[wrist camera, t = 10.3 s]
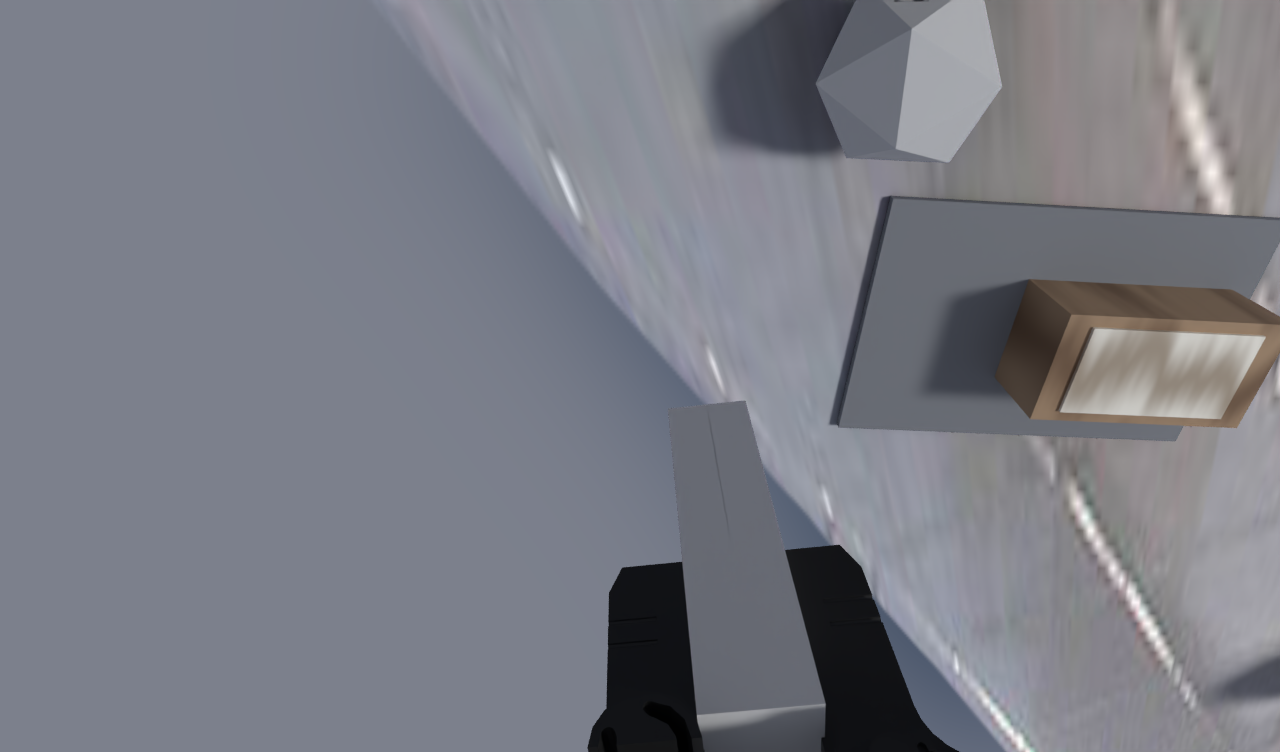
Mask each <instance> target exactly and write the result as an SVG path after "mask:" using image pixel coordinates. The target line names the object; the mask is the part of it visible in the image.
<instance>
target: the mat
mask: <svg viewBox="0 0 1280 752" xmlns="http://www.w3.org/2000/svg"><path fill="white" fill-rule="evenodd" d="M1279 243H1280V218H1272V217H1254V216H1236V215H1219V214H1201V213H1183V212H1166V211H1148V210H1130V209H1113V208H1095V207H1077V206H1059V205H1042V204H1024V203H1006V202H989V201H971V200H953V199H936V198H918V197H900V196H891V197H890V201H889V205H888V210H887V214H886V218H885V222H884V227H883V231H882V235H881V239H880V243H879V248H878V252H877V256H876V260H875V265H874V269H873V273H872V277H871V281H870V286H869V290H868V294H867V298H866V303H865V307H864V311H863V315H862V319H861V324H860V328H859V332H858V336H857V341H856V345H855V349H854V353H853V357H852V362H851V366H850V370H849V374H848V379H847V383H846V387H845V391H844V395H843V400H842V404H841V408H840V412H839V417H838V421H837V425H838V427H840V428H864V429H889V430H913V431H937V432H962V433H986V434H1010V435H1035V436H1059V437H1083V438H1107V439H1132V440H1156V441H1176V439H1177V438H1178V436H1179V434H1180V432H1181V430H1182V428H1183V426H1179V425H1156V424H1132V423H1108V422H1084V421H1061V420H1037V419H1030V418H1029V417H1028V416H1027V415H1026V414H1025V413H1024V411H1023V410H1022V409H1021V408H1020V407H1019V405H1018V404H1017V403H1016V402H1015V401H1014V400H1013V398H1012V397H1011V396H1010V395H1009V394H1008V393H1007V391H1006V390H1005V389H1004V388H1003V387H1002V385H1001V384H1000V383H999V382H998V381H997V380H996V378H995V374H996V371H997V368H998V366H999V363H1000V360H1001V357H1002V354H1003V351H1004V349H1005V346H1006V343H1007V340H1008V337H1009V334H1010V332H1011V329H1012V326H1013V323H1014V320H1015V317H1016V315H1017V312H1018V309H1019V306H1020V303H1021V300H1022V298H1023V295H1024V292H1025V289H1026V286H1027V283H1028V281H1029V279H1037V280H1056V281H1076V282H1095V283H1115V284H1134V285H1153V286H1173V287H1192V288H1212V289H1231V290H1234V291H1236V292H1237V293H1239V294H1241V295H1243V296H1244V297H1246V298H1248V299H1250V298H1251V296H1252V294H1253V292H1254V290H1255V288H1256V286H1257V285H1258V283H1259V281H1260V279H1261V277H1262V275H1263V273H1264V271H1265V269H1266V267H1267V265H1268V264H1269V262H1270V260H1271V258H1272V256H1273V254H1274V252H1275V250H1276V248H1277V246H1278V244H1279Z"/></svg>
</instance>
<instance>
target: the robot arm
mask: <svg viewBox="0 0 1280 752" xmlns="http://www.w3.org/2000/svg"><path fill="white" fill-rule="evenodd" d="M668 415H669V426H670V437H671V446H672V457H673V468H674V479H675V490H676V499H677V511H678V521H679V531H680V542H681V553H682V562H676V563H666V564H655V565H646V566H635V567H624V568H622V569H621V571H620V573H619V575H618V577H617V579H616V581H615V583H614V585H613V586H612V589H611V590H610V592H609V627H608V664H607V668H608V669H607V709H606V710H605V711H604V712H603V713H602V715H601V716H600V718H599V719H598V720H597V722H596V723H595V725H594V726H593V728H592V732H591V736H590V740H589V744H588V752H959V751H957V750H955V749H953V748H952V747H950V746H948V745H946V744H945V743H944V742H943V741H942V740H940V739H939V738H938V737H937V736H935V735H934V734H933V733H932V732H931V731H930V730H929V728H927V726H926V725H925V723H924V722H923V721H922V720H921V718H920V716H919V714H918V712H917V710H916V708H915V707H914V704H913V702H912V699H911V696H910V694H909V691H908V688H907V686H906V683H905V680H904V678H903V675H902V673H901V670H900V667H899V665H898V662H897V659H896V657H895V654H894V651H893V649H892V646H891V644H890V641H889V638H888V636H887V633H886V630H885V628H884V625H883V623H882V622H881V619H880V615H879V612H878V609H877V607H876V604H875V601H874V600H873V599H872V593H871V591H870V588H869V586H868V583H867V580H866V578H865V575H864V572H863V570H862V567H861V566H860V565H859V564H858V563H857V562H856V561H855V560H854V559H853V558H852V557H851V556H850V555H849V554H848V553H847V552H846V551H845V550H844V549H843V548H842V547H841V546H840V545H832V546H822V547H812V548H801V549H791V550H785V549H784V545H783V541H782V537H781V533H780V530H779V526H778V522H777V518H776V515H775V511H774V507H773V503H772V500H771V496H770V492H769V488H768V484H767V481H766V477H765V473H764V469H763V465H762V462H761V458H760V454H759V450H758V447H757V443H756V439H755V435H754V431H753V428H752V424H751V420H750V416H749V413H748V409H747V405H746V401H736V402H727V403H717V404H708V405H699V406H689V407H680V408H671V409H668Z"/></svg>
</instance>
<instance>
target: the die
mask: <svg viewBox="0 0 1280 752" xmlns="http://www.w3.org/2000/svg"><path fill="white" fill-rule="evenodd" d="M816 86H817V88H818V91H819V93H820V95H821V98H822V100H823V103H824V105H825V108H826V110H827V112H828V115H829V117H830V120H831V122H832V124H833V127H834V129H835V132H836V134H837V137H838V139H839V141H840V144H841V146H842V149H843V151H844V153H845V156H846V158H857V159H878V160H899V161H920V162H941V163H949V162H950V160H951V159H952V158H953V156H954V155H955V153H956V152H957V150H958V149H959V148H960V146H961V145H962V143H963V142H964V140H965V139H966V138H967V136H968V135H969V133H970V132H971V130H972V129H973V128H974V126H975V125H976V123H977V122H978V120H979V119H980V118H981V116H982V115H983V113H984V112H985V110H986V109H987V108H988V106H989V105H990V103H991V102H992V100H993V99H994V98H995V96H996V95H997V93H998V92H999V90H1000V89H1001V88H1002V84H1001V79H1000V74H999V69H998V64H997V60H996V55H995V50H994V45H993V40H992V35H991V31H990V26H989V21H988V16H987V11H986V6H985V1H984V0H856V1H855V3H854V5H853V7H852V9H851V11H850V13H849V15H848V17H847V19H846V21H845V23H844V26H843V28H842V30H841V32H840V34H839V36H838V38H837V40H836V42H835V44H834V46H833V48H832V50H831V53H830V55H829V57H828V59H827V61H826V63H825V65H824V67H823V69H822V71H821V73H820V75H819V77H818V79H817V82H816Z"/></svg>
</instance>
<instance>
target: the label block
mask: <svg viewBox="0 0 1280 752" xmlns="http://www.w3.org/2000/svg"><path fill="white" fill-rule="evenodd" d="M1279 353H1280V317H1279V316H1277V315H1276V314H1274V313H1272V312H1270V311H1269V310H1267V309H1265V308H1263V307H1262V306H1260V305H1258V304H1257V303H1255V302H1253V301H1251V300H1250V299H1248V298H1246V297H1244V296H1243V295H1241V294H1239V293H1237V292H1236V291H1234V290H1231V289H1212V288H1192V287H1173V286H1153V285H1134V284H1115V283H1095V282H1076V281H1056V280H1037V279H1029V281H1028V283H1027V286H1026V289H1025V292H1024V295H1023V298H1022V300H1021V303H1020V306H1019V309H1018V312H1017V315H1016V317H1015V320H1014V323H1013V326H1012V329H1011V332H1010V334H1009V337H1008V340H1007V343H1006V346H1005V349H1004V351H1003V354H1002V357H1001V360H1000V363H999V366H998V368H997V371H996V374H995V378H996V380H997V381H998V382H999V383H1000V384H1001V385H1002V387H1003V388H1004V389H1005V390H1006V391H1007V393H1008V394H1009V395H1010V396H1011V397H1012V398H1013V400H1014V401H1015V402H1016V403H1017V404H1018V405H1019V407H1020V408H1021V409H1022V410H1023V411H1024V413H1025V414H1026V415H1027V416H1028V417H1029V418H1030V419H1037V420H1061V421H1084V422H1108V423H1132V424H1156V425H1179V426H1203V427H1227V428H1237V427H1238V425H1239V423H1240V421H1241V420H1242V418H1243V416H1244V414H1245V413H1246V411H1247V409H1248V407H1249V406H1250V404H1251V402H1252V400H1253V398H1254V397H1255V395H1256V393H1257V391H1258V390H1259V388H1260V386H1261V384H1262V383H1263V381H1264V379H1265V377H1266V376H1267V374H1268V372H1269V370H1270V369H1271V367H1272V365H1273V363H1274V362H1275V360H1276V358H1277V356H1278V354H1279Z"/></svg>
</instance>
